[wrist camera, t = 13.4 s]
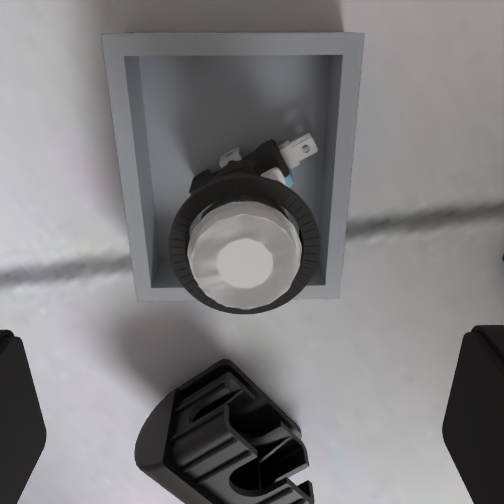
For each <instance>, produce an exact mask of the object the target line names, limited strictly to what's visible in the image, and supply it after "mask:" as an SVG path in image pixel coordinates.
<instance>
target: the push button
mask: <svg viewBox="0 0 504 504" xmlns="http://www.w3.org/2000/svg"><path fill="white" fill-rule="evenodd" d="M303 140H304V141H303ZM301 141H302V142H301ZM304 145H307V147H305V148H302V146H304ZM308 150H309V151H308ZM307 151H308V152H307ZM317 151H318V148H317V146H316V144H315V142H314V140H313V138H312V137H311V135H310V134H309V133H307V134H305V135H303V136H301V137H299V138H298V139H296V140H294V141H292V142H290V143H289V141H286V142H284V143H282V144H280V145H279V146H278V145H277V143H276V141H274V140H273V139H271V140H268V141H266V142H265V143H263V144H261V145H260V146H259V147H258V148H257V149H256V150H255V151H254V152H252V153H250V154H249V155H247V156H245V157H243V158H241V156H240V154H239V153H240V148H239V147H237V148H235V149H233V150H231V151H229V152H227V153H226V154H224V155H222V156H221V157H220V166H221V168H222V169H221V170H219V171H218V172H216V173H214V174H212V173H211V171H210V170H209V169H207V170H205V171H203V172H201V173H199V174H198V175H196V176H195V177H194V178H193V180H192V183H191V187H190V190H189V193H190V194H191V196H190V197H189V198H188V199H187V200H186V201H185V202H184V203H183V205H182V206H181V207H180V209H179V211H178V212H177V214H176V216H175V219H174V221H173V224H172V227H171V230H170V235H169V244H168V248H169V257H170V262H171V265H172V268H173V271H174V273H175V275H176V277H177V279H178V280H179V282H180V283H181V284H182V286H183V287H184V288H185V289H186V290H187V292H189V293H190V294H191V295H192V296H193V297H194V298H196V299H197V300H198V301H200V302H202V303H203V304H205V305H207V306H209V307H211V308H214V309H216V310H219V311H223V312H227V313H232V314H256V313H261V312H266V311H269V310H272V309H275V308H277V307H279V306H281V305H283V304H285V303H287V302H288V301H290V300H291V299H293V298H294V297H295V296H297V295H298V294H299V293H300V292H301V291H302V290H303V289H304V288H305V286H306V285H307V284H308V282H309V281H310V280H311V278H312V276H313V274H314V272H315V270H316V267H317V264H318V261H319V256H320V235H319V230H318V227H317V224H316V221H315V219H314V217H313V214H312V212H311V211H310V209H309V207H308V206H307V205H306V203H305V202H304V201H303V200H302V199H301V197H300V196H299V195H298V194H296V193H295V192H294V191H293V190H291V189H290V188H289V187H291V186H292V185H293V184H294V183H295V181H294V179H293V176H292V173H291V170H290V169H292V168H294V167H296V166H298V165H300V163H299V161H301V160H303V159H305V158H306V157H308V156H310V155H312V154H314V153H316V152H317ZM305 152H307V153H305ZM231 153H232V154H231ZM229 154H230V155H229ZM228 155H229V156H228ZM287 211H288V212H289V213H290V214H291V215H292V216H293V218H294V219H295V220H296V222H297V224H298V226H299V237H298V234H297V231H296V229H295V227H294V225H293V224H292V223H291V222H290V221H289V216H288V212H287ZM200 212H202V216H201V221H200V222H199V223H198V224H197V226H196V227H195V228H194V230H193V232H192V233H191V238H190V233H189V231H190V226H191V224H192V223H193V221H194V220H195V218H196V217H197V216H198V215H199V213H200Z"/></svg>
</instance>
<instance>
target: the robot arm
mask: <svg viewBox="0 0 504 504" xmlns="http://www.w3.org/2000/svg"><path fill="white" fill-rule="evenodd" d="M442 433H443V439H444V442H445V445H446V447H447V449H448V451H449V453H450V455H451V457H452V459H453V461H454V463H455V465H456V467H457V470H458V472H459V474H460V476H461V478H462V480H463V482H464V484H465V486H466V488H467V490H468V492H469V494H470V497H471V499H472V501H473V503H474V504H504V325H477V326H474V328H473V329H472V331H471V332H467V333H466V334H465V335H464V337H463V341H462V345H461V349H460V353H459V358H458V362H457V366H456V370H455V375H454V379H453V383H452V387H451V392H450V396H449V400H448V404H447V409H446V413H445V417H444V421H443V427H442ZM45 442H46V428H45V424H44V420H43V417H42V413H41V409H40V405H39V402H38V398H37V394H36V390H35V387H34V383H33V379H32V376H31V372H30V368H29V364H28V361H27V357H26V353H25V349H24V346H23V342H22V340H21V339H20V337H15V336H14V334H13V333H12V332H11V331H10V330H0V504H17V502H18V500H19V498H20V496H21V494H22V492H23V490H24V488H25V486H26V484H27V481H28V479H29V477H30V475H31V473H32V471H33V469H34V467H35V465H36V463H37V461H38V459H39V457H40V455H41V453H42V451H43V449H44V446H45Z"/></svg>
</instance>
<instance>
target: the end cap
mask: <svg viewBox="0 0 504 504" xmlns="http://www.w3.org/2000/svg"><path fill="white" fill-rule="evenodd" d="M301 437H302V435H301V430H300V428H299V427H298V426H297V425H296V424H295V423H294V422H293V421H292V420H291V419H290V418H289V417H288V416H287V415H286V414H285V413H284V412H283V411H282V410H281V409H280V408H279V407H278V406H277V405H276V404H275V403H274V402H273V401H272V400H271V399H270V398H268V397H267V396H266V395H265V394H264V393H263V392H262V391H261V390H260V389H259V388H258V387H257V386H256V385H255V384H254V383H253V382H252V381H251V380H250V379H249V378H248V377H247V376H246V375H245V374H244V373H243V372H242V371H241V370H240V369H239V368H238V367H237V366H236V365H235V364H234V363H233V362H232V361H230V360H227V359H223V360H220V361H219V362H217V363H216V364H214V365H212V366H211V367H209V368H208V369H206V370H205V371H203V372H201V373H200V374H198V375H197V376H195V377H194V378H192V379H191V380H189V381H187V382H186V383H184V384H183V385H182V386H181V387H179V388H178V389H175V390H174V391H172V392H171V393H169V394H168V395H167V396H166V397H165V398H164V399H163V400H162V401H161V402H160V403H159V404H158V405H157V406H156V407H155V409H154V410H153V411H152V412H151V414H150V415H149V417H148V418H147V420H146V421H145V423H144V425H143V427H142V429H141V431H140V433H139V435H138V438H137V441H136V445H135V452H134V453H135V461H136V465H137V466H138V467H139V469H140V470H141V471H143V472H144V473H145V474H146V475H148V476H149V477H150V478H152V479H153V480H154V481H156V482H157V483H158V484H160V485H161V486H162V487H164V488H165V489H166V490H168V491H169V492H170V493H172V494H173V495H174V496H175V497H177V498H178V499H179V500H181V501H182V502H183V503H185V504H314V494H313V488H312V483H311V482H310V481H309V480H308V481H306V482H304V483H302V484H300V485H298V486H296V485H295V484H294V483H293V482H292V481H291V480H290V479H288V477H290V476H292V475H294V474H296V473H298V472H300V471H302V470H303V469H305V468H307V467H309V462H308V455H307V450H306V448H305V445H304V444H303V442H302V441H301Z"/></svg>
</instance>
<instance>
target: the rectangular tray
mask: <svg viewBox="0 0 504 504" xmlns="http://www.w3.org/2000/svg"><path fill="white" fill-rule="evenodd" d="M101 37H102V45H103V52H104V60H105V67H106V74H107V82H108V89H109V97H110V104H111V111H112V119H113V126H114V134H115V141H116V148H117V156H118V163H119V170H120V178H121V185H122V193H123V200H124V207H125V215H126V222H127V230H128V237H129V244H130V252H131V259H132V267H133V274H134V281H135V289H136V296H137V302H138V301H198V300H197V299H196V298H194V297H193V296H192V295H191V294H190V293H189V292H187V290H186V289H185V288H184V287H183V286H182V284H181V283H180V282H179V280H178V279H177V277H176V275H175V273H174V271H173V268H172V265H171V262H170V257H169V248H168V244H169V235H170V230H171V227H172V224H173V221H174V219H175V216H176V214H177V212H178V211H179V209H180V207H181V206H182V205H183V203H184V202H185V201H186V200H187V199H188V198H189V197H190V196H191V194H190V193H189V190H190V187H191V183H192V180H193V178H194V177H195V176H196V175H198V174H199V173H201V172H203V171H205V170H207V169H209V170H210V171H211V173H212V174H214V173H216V172H218V171H219V170H221V169H222V168H221V166H220V157H221V156H222V155H224V154H226V153H227V152H229V151H231V150H233V149H235V148H237V147H239V148H240V153H239V154H240V156H241V158H243V157H245V156H247V155H249V154H250V153H252V152H254V151H255V150H256V149H257V148H258V147H259V146H260V145H261V144H263V143H265V142H266V141H268V140H271V139H273V140H274V141H276V143H277V145H278V146H279V145H280V144H282V143H284V142H286V141H289V143H290V142H292V141H294V140H296V139H298V138H299V137H301V136H303V135H305V134H307V133H309V134H310V135H311V137H312V138H313V140H314V142H315V144H316V146H317V148H318V151H317V152H316V153H314V154H312V155H310V156H308V157H306V158H305V159H303V160H301V161H299V163H300V165H298V166H296V167H294V168H292V169H290V170H291V173H292V176H293V179H294V181H295V183H294V184H293V185H292V186H291V187H289V188H290V189H291V190H293V191H294V192H295V193H296V194H298V195H299V196H300V197H301V199H302V200H303V201H304V202H305V203H306V205H307V206H308V207H309V209H310V211H311V212H312V214H313V217H314V219H315V221H316V224H317V227H318V230H319V235H320V256H319V261H318V264H317V267H316V270H315V272H314V274H313V276H312V278H311V280H310V281H309V282H308V284H307V285H306V286H305V288H304V289H303V290H302V291H301V292H300V293H299V294H298V295H297V296H295V297H294V298H293V299H328V298H340V288H341V277H342V267H343V256H344V245H345V235H346V224H347V213H348V203H349V192H350V181H351V171H352V160H353V149H354V139H355V128H356V117H357V107H358V96H359V85H360V75H361V64H362V53H363V43H364V33H354V32H223V33H116V34H101ZM303 141H304V140H303ZM301 142H302V141H301ZM305 147H307V145H304V146H302V148H305ZM308 151H309V150H308ZM308 151H307V152H308ZM307 152H305V153H307ZM231 154H232V153H231ZM229 155H230V154H229ZM229 155H228V156H229ZM287 212H288V211H287ZM201 216H202V212H200V213H199V215H198V216H197V217H196V218H195V220H194V221H193V223H192V224H191V226H190V231H189V233H190V238H191V233H192V232H193V230H194V228H195V227H196V226H197V224H198V223H199V222H200V221H201ZM288 216H289V221H290V222H291V223H292V224H293V225H294V227H295V229H296V231H297V234H298V237H299V226H298V224H297V222H296V220H295V219H294V218H293V216H292V215H291V214H290V213H289V212H288Z"/></svg>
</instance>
